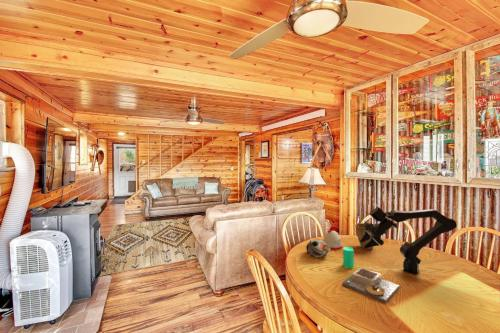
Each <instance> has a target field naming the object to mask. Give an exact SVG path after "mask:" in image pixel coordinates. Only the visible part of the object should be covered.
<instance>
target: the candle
mask: <svg viewBox="0 0 500 333" xmlns="http://www.w3.org/2000/svg"><path fill="white" fill-rule="evenodd" d="M342 250H343V251H342V253H343V254H342V255H343V256H342V258H343V259H342V261H343V262H342V264H343V267H345V268H346V269H353V268H355V266H354V265H355V256H354V254H355V251H354V249H353V247H350V246H344V247H342Z"/></svg>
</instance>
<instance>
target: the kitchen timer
mask: <svg viewBox="0 0 500 333" xmlns="http://www.w3.org/2000/svg"><path fill="white" fill-rule="evenodd" d="M337 229H338V227H336V225H334V226H333V225H332V226H330V227H329V228H328V229H327V232H326V233H325V234H324V235H323V239H322V241H323V242H324V243H326V245H327V246H328V247H331V250H334V251H339V250H343V242H342V239H341V237H340V235H339V233H338V232H337ZM331 250H330V251H331Z"/></svg>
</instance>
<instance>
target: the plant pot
mask: <svg viewBox="0 0 500 333" xmlns="http://www.w3.org/2000/svg"><path fill="white" fill-rule="evenodd" d="M363 224H364V222H362V223H361V222H360V223H356V224H355V232H356V235H357V238H358V239H357V240H358V242H359V245H360V248H362V249H363V250H364V249H365V250H372V249H373V248H374V246H373V247H369V248H364V246H365V245H366V244H367V242H368V241H369V240H370V239H369V240H367V241H364V242H362V243H361V242H360V240H361V238H362V237H363V235H364V230H365V229H364V228H365V227H364V226H363ZM371 237H372V236H371ZM372 238H373V237H372Z"/></svg>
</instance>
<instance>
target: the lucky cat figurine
mask: <svg viewBox="0 0 500 333" xmlns="http://www.w3.org/2000/svg"><path fill="white" fill-rule="evenodd" d="M305 248H306V249H305V251H306V253H307V254H308V255H309V257H312V258H315V257H316V258H319V257H323V256H325V255H327V254H328V253H329V252H330V251H331V247H328V246H327V245H326V243H324V242H323V240H321V239H314V240H313V239H310V240H309V242H308V243H307V244H306V247H305Z"/></svg>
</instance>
